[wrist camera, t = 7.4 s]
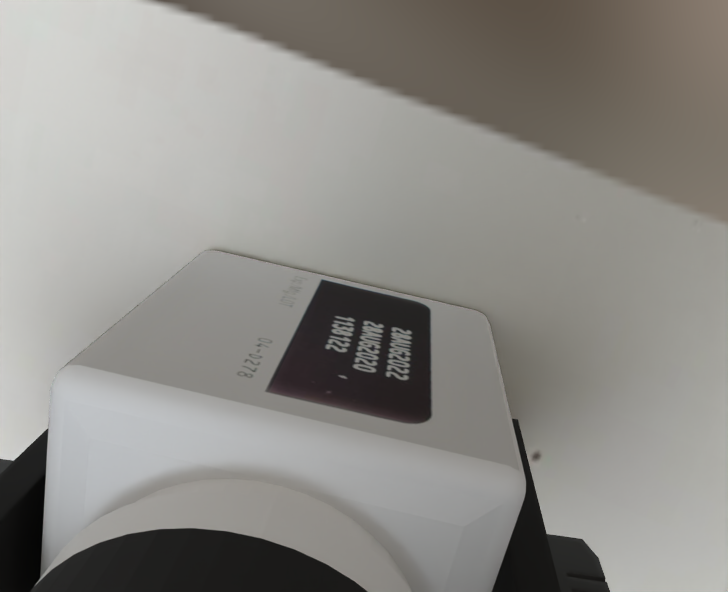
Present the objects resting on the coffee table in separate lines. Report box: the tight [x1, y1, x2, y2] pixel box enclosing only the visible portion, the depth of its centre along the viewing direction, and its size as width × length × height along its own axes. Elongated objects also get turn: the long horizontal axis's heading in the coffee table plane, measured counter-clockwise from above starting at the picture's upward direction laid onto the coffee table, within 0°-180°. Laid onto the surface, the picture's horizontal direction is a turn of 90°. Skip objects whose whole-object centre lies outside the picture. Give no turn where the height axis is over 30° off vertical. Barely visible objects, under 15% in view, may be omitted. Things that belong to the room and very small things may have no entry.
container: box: [30, 250, 526, 592], centre depth 13 cm, size 8×8×13 cm
